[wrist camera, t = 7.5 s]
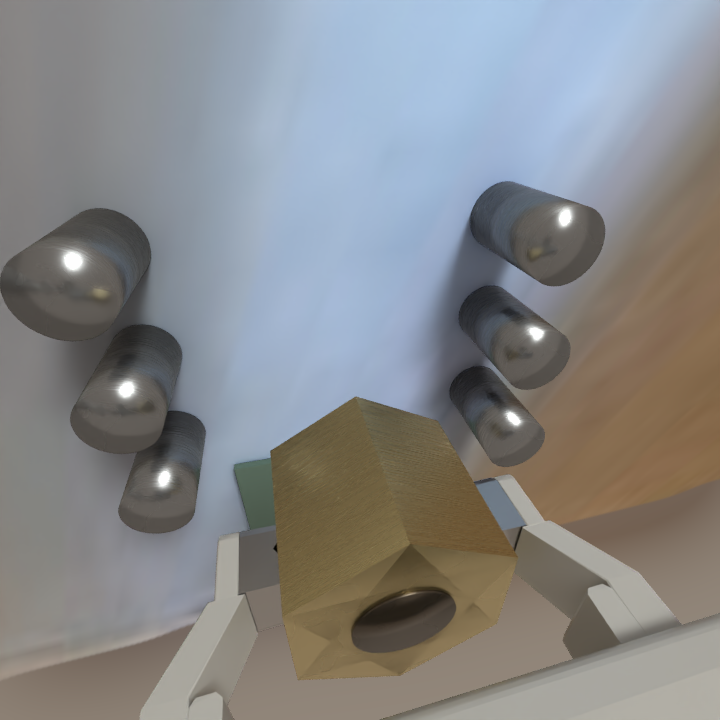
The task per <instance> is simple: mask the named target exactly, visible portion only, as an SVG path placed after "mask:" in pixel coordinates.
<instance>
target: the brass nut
mask: <svg viewBox="0 0 720 720" xmlns="http://www.w3.org/2000/svg"><path fill="white" fill-rule="evenodd" d="M270 453H271V467H272V481H273V495H274V509H275V522H276V536H277V550H278V564H279V578H280V592H281V606H282V618H283V622H284V626H285V630H286V634H287V638H288V642H289V646H290V650H291V654H292V658H293V662H294V666H295V670H296V674H297V678H298V680H311V679H334V678H356V677H379V676H400V675H402V674H404V673H406V672H408V671H410V670H411V669H413V668H415V667H417V666H419V665H421V664H422V663H424V662H426V661H428V660H430V659H432V658H434V657H436V656H437V655H439V654H441V653H443V652H445V651H447V650H449V649H451V648H452V647H454V646H456V645H458V644H460V643H462V642H464V641H465V640H467V639H469V638H471V637H473V636H475V635H477V634H478V633H480V632H482V631H484V630H486V629H488V628H489V627H492V626H493V625H495V624H497V621H498V618H499V615H500V612H501V609H502V606H503V603H504V600H505V597H506V594H507V591H508V588H509V585H510V582H511V579H512V576H513V573H514V570H515V567H516V564H517V561H518V556H517V555H516V553H515V551H514V549H513V548H512V546H511V544H510V543H509V541H508V539H507V538H506V536H505V534H504V533H503V531H502V529H501V527H500V526H499V524H498V522H497V521H496V519H495V517H494V516H493V514H492V512H491V511H490V509H489V507H488V506H487V504H486V502H485V500H484V499H483V497H482V495H481V494H480V492H479V490H478V489H477V487H476V485H475V484H474V482H473V480H472V478H471V477H470V475H469V473H468V472H467V470H466V468H465V467H464V465H463V463H462V462H461V460H460V458H459V456H458V455H457V453H456V451H455V450H454V448H453V446H452V445H451V443H450V441H449V440H448V438H447V436H446V434H445V433H444V431H443V429H442V428H441V426H440V424H439V423H438V421H436V420H433V419H429V418H426V417H423V416H419V415H416V414H413V413H409V412H406V411H403V410H399V409H396V408H393V407H389V406H386V405H383V404H379V403H376V402H373V401H369V400H366V399H363V398H359V397H354V398H353V399H351V400H349V401H348V402H346V403H345V404H343V405H342V406H340V407H339V408H337V409H335V410H334V411H332V412H331V413H329V414H328V415H326V416H324V417H323V418H321V419H320V420H318V421H317V422H315V423H314V424H312V425H310V426H309V427H307V428H306V429H304V430H303V431H301V432H299V433H298V434H296V435H295V436H293V437H292V438H290V439H289V440H287V441H285V442H284V443H282V444H281V445H279V446H278V447H276V448H274V449H273V450H271V451H270Z"/></svg>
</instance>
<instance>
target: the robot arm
mask: <svg viewBox="0 0 720 720" xmlns="http://www.w3.org/2000/svg"><path fill="white" fill-rule="evenodd" d="M474 484H475V485H476V487H477V489H478V490H479V492H480V494H481V495H482V497H483V499H484V500H485V502H486V504H487V506H488V507H489V509H490V511H491V512H492V514H493V516H494V517H495V519H496V521H497V522H498V524H499V526H500V527H501V529H502V531H503V533H504V534H505V536H506V538H507V539H508V541H509V543H510V544H511V546H512V548H513V549H514V551H515V553H516V555H517V556H518V561H517V564H516V567H515V570H514V573H515V574H517V575H518V576H519V577H520V578H521V579H523V580H524V581H525V582H526V583H527V584H529V585H530V586H531V587H532V588H533V589H535V590H536V591H537V592H538V593H540V594H541V595H542V596H543V597H544V598H546V599H547V600H548V601H549V602H550V603H552V604H553V605H554V606H555V607H557V608H558V609H559V610H560V611H561V612H563V613H564V614H565V615H566V616H567V617H569V618H570V619H571V622H570V624H569V626H568V628H567V630H566V632H565V634H564V637H563V642H564V644H565V646H566V647H567V649H568V651H569V653H570V655H571V656H572V658H573V659H572V660H569V661H565V662H562V663H559V664H556V665H553V666H550V667H546V668H543V669H540V670H537V671H533V672H530V673H527V674H524V675H521V676H518V677H514V678H511V679H508V680H505V681H502V682H498V683H495V684H492V685H489V686H486V687H482V688H479V689H476V690H473V691H470V692H466V693H463V694H460V695H457V696H454V697H450V698H447V699H444V700H441V701H438V702H435V703H432V704H428V705H425V706H422V707H419V708H415V709H412V710H409V711H406V712H403V713H400V714H396V715H393V716H390V717H387V718H383V719H380V720H720V613H718V614H715V615H712V616H709V617H706V618H703V619H699V620H696V621H693V622H690V623H687V624H683V625H682V624H681V623H680V622H679V621H678V619H677V618H676V617H675V616H674V615H673V613H672V612H671V611H670V610H669V609H668V607H667V606H666V605H665V604H664V602H663V601H662V600H661V599H660V598H659V596H658V595H657V594H656V593H655V592H654V590H653V589H652V588H651V587H650V585H649V584H648V583H647V582H646V581H645V580H644V578H643V577H642V576H641V575H640V573H639V572H637V571H635V570H634V569H632V568H630V567H629V566H626V565H625V564H623V563H622V562H620V561H618V560H617V559H615V558H613V557H611V556H610V555H608V554H606V553H605V552H603V551H601V550H600V549H598V548H596V547H594V546H593V545H591V544H589V543H588V542H585V541H584V540H582V539H581V538H579V537H577V536H576V535H574V534H572V533H571V532H569V531H567V530H565V529H564V528H562V527H560V526H559V525H557V524H555V523H554V522H552V521H550V520H549V521H545V520H544V519H543V518H542V516H541V515H540V513H539V512H538V511H537V509H536V508H535V506H534V505H533V504H532V502H531V501H530V499H529V498H528V497H527V495H526V494H525V493H524V491H523V490H522V488H521V487H520V486H519V484H518V483H517V481H516V480H515V479H514V477H513V476H511V475H510V474H509V475H503V476H499V477H495V478H487V479H483V480H479V481H474ZM281 625H284V622H283V618H282V606H281V592H280V578H279V564H278V550H277V536H276V525H272V526H267V527H262V528H257V529H252V530H247V531H242V532H236V533H231V534H227V535H222V536H220V537H219V540H218V547H217V563H216V580H215V596H214V601H212V602H209V603H208V604H207V605H206V607H205V608H204V610H203V612H202V613H201V615H200V616H199V618H198V620H197V621H196V623H195V624H194V626H193V628H192V629H191V631H190V632H189V634H188V636H187V637H186V639H185V640H184V642H183V644H182V645H181V647H180V649H179V650H178V652H177V653H176V655H175V657H174V658H173V660H172V661H171V663H170V665H169V666H168V668H167V669H166V671H165V673H164V674H163V676H162V677H161V679H160V681H159V682H158V684H157V686H156V687H155V689H154V691H153V692H152V694H151V695H150V697H149V698H148V700H147V702H146V703H145V705H144V706H143V708H142V710H141V713H140V719H139V720H234V718H233V716H232V714H231V712H230V710H229V708H228V707H227V705H228V703H229V701H230V698H231V696H232V694H233V691H234V689H235V687H236V685H237V682H238V680H239V677H240V675H241V673H242V671H243V668H244V666H245V664H246V661H247V659H248V657H249V654H250V652H251V650H252V648H253V645H254V643H255V641H256V638H257V636H258V633H257V632H260V631H263V630H267V629H270V628H274V627H277V626H281Z"/></svg>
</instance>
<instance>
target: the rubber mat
mask: <svg viewBox="0 0 720 720" xmlns="http://www.w3.org/2000/svg"><path fill="white" fill-rule="evenodd" d="M234 470H235V474H236V478H237V481H238V485H239V489H240V493H241V496H242V500H243V504H244V507H245V511H246V515H247V519H248V522H249V526H250V530H252V529H257V528H262V527H267V526H272V525H276V522H275V509H274V495H273V481H272V467H271V458H270V459H264V460H258V461H252V462H246V463H241V464H235V467H234Z"/></svg>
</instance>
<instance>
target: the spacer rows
mask: <svg viewBox="0 0 720 720" xmlns="http://www.w3.org/2000/svg"><path fill="white" fill-rule="evenodd" d="M470 223H471V231H472V234H473V236H474V238H475V239H476V240H477V241H478V242H479V243H480V244H482V245H483V246H485V247H486V248H488V249H489V250H491V251H492V252H494V253H495V254H497V255H499V256H500V257H502V258H503V259H505V260H506V261H508V262H509V263H511V264H512V265H514V266H516V267H517V268H519V269H520V270H522V271H523V272H525V273H526V274H528V275H529V276H531V277H533V278H534V279H536V280H537V281H539V282H540V283H542V284H544V285H547V286H561V285H565V284H568V283H570V282H572V281H574V280H576V279H577V278H579V277H580V276H582V275H583V274H584V273H585V272H586V271H587V270H588V269H589V268H590V267H591V266H592V265H593V263H594V262H595V260H596V259H597V257H598V255H599V254H600V251H601V249H602V246H603V243H604V239H605V225H604V221H603V219H602V217H601V215H600V214H599V213H598V212H597V211H596V210H595V209H593V208H591V207H588V206H585V205H582V204H579V203H576V202H573V201H570V200H567V199H564V198H561V197H558V196H555V195H552V194H548V193H545V192H542V191H539V190H536V189H533V188H530V187H527V186H524V185H521V184H518V183H515V182H510V181H506V182H500V183H497V184H495V185H493V186H491V187H490V188H488V189H487V190H486V191H485V192H484V193H483V194H482V195H481V196H480V197H479V199H478V200H477V202H476V204H475V205H474V208H473V211H472V214H471V222H470ZM150 259H151V249H150V244H149V242H148V239H147V237H146V235H145V234H144V232H143V231H142V229H141V228H140V227H139V226H138V225H137V224H136V223H135V222H134V221H132V220H131V219H130V218H128V217H127V216H125V215H123V214H121V213H119V212H116V211H113V210H109V209H103V208H95V209H89V210H85V211H83V212H81V213H79V214H78V215H76V216H74V217H73V218H71V219H70V220H68V221H67V222H65V223H64V224H62V225H61V226H59V227H58V228H56V229H55V230H53V231H52V232H50V233H49V234H47V235H46V236H44V237H43V238H41V239H40V240H38V241H37V242H35V243H34V244H32V245H31V246H29V247H28V248H26V249H25V250H23V251H22V252H20V253H19V254H17V255H16V256H14V257H13V258H12V259H10V260H9V261H8V262H7V264H6V265H5V267H4V269H3V271H2V273H1V277H0V289H1V293H2V297H3V299H4V301H5V303H6V305H7V307H8V308H9V310H10V311H11V312H12V313H13V315H14V316H15V317H16V318H17V319H18V320H20V321H21V322H22V323H23V324H24V325H26V326H27V327H29V328H30V329H32V330H34V331H36V332H38V333H40V334H42V335H44V336H47V337H50V338H54V339H58V340H64V341H82V340H88V339H91V338H94V337H97V336H99V335H101V334H102V333H104V332H105V331H106V330H107V329H108V328H109V327H110V326H111V325H112V324H113V322H114V320H115V319H116V317H117V316H118V314H119V312H120V311H121V309H122V308H123V306H124V304H125V303H126V301H127V300H128V298H129V296H130V295H131V293H132V292H133V290H134V288H135V287H136V285H137V284H138V282H139V280H140V279H141V277H142V276H143V274H144V272H145V271H146V269H147V268H148V266H149V263H150ZM459 324H460V326H461V328H462V330H463V331H464V332H465V333H466V334H467V335H468V337H469V338H470V339H471V340H472V341H473V342H474V343H475V344H476V345H477V347H478V348H479V349H480V350H481V351H482V352H483V353H484V354H485V355H486V357H487V358H488V359H489V360H490V361H491V362H492V363H493V364H494V366H495V367H496V368H497V369H498V370H499V371H500V372H501V373H502V374H503V376H504V377H505V378H506V379H507V380H508V381H509V382H510V383H511V384H512V385H513V386H514V387H516V388H519V389H524V390H528V389H535V388H538V387H541V386H543V385H545V384H547V383H548V382H550V381H551V380H553V379H554V378H555V377H556V376H557V375H558V374H559V373H560V372H561V371H562V370H563V368H564V367H565V365H566V363H567V361H568V359H569V356H570V343H569V341H568V339H567V338H566V337H565V336H564V335H563V334H562V333H561V332H559V331H558V330H557V329H555V328H554V327H553V326H551V325H550V324H549V323H548V322H546V321H545V320H544V319H542V318H541V317H540V316H538V315H537V314H536V313H535V312H533V311H532V310H531V309H529V308H528V307H527V306H525V305H524V304H523V303H521V302H520V301H519V300H518V299H516V298H515V297H514V296H512V295H511V294H510V293H508V292H507V291H506V290H505V289H503V288H501V287H498V286H486V287H482V288H480V289H478V290H476V291H475V292H473V293H472V294H471V295H470V296H469V297H468V298H467V299H466V300H465V301H464V303H463V305H462V307H461V309H460V312H459ZM181 361H182V351H181V348H180V345H179V343H178V342H177V341H176V339H175V338H174V337H173V336H172V335H171V334H169V333H168V332H166V331H165V330H163V329H161V328H158V327H155V326H151V325H134V326H130V327H127V328H125V329H123V330H121V331H120V332H119V333H118V334H117V335H116V336H115V337H114V339H113V341H112V342H111V344H110V346H109V347H108V349H107V351H106V353H105V354H104V356H103V358H102V359H101V361H100V363H99V365H98V366H97V368H96V370H95V371H94V373H93V375H92V377H91V378H90V380H89V382H88V384H87V385H86V387H85V389H84V390H83V392H82V394H81V396H80V397H79V399H78V401H77V402H76V404H75V406H74V408H73V409H72V412H71V417H70V421H71V426H72V428H73V430H74V432H75V434H76V435H77V436H78V437H79V438H80V439H81V440H82V441H83V442H85V443H86V444H88V445H89V446H91V447H93V448H95V449H98V450H101V451H104V452H109V453H117V454H126V453H134V452H137V454H136V457H135V460H134V463H133V466H132V469H131V472H130V475H129V478H128V481H127V484H126V487H125V490H124V493H123V496H122V499H121V502H120V505H119V511H118V512H119V516H120V518H121V520H122V521H123V522H124V523H125V524H126V525H127V526H129V527H130V528H132V529H135V530H137V531H141V532H145V533H166V532H171V531H174V530H177V529H179V528H181V527H183V526H185V525H186V524H187V523H188V522H189V521H190V520H191V519H192V517H193V515H194V512H195V505H196V498H197V491H198V484H199V477H200V470H201V464H202V457H203V450H204V443H205V436H206V431H205V427H204V425H203V423H202V422H201V421H200V420H199V419H198V418H196V417H195V416H193V415H191V414H189V413H185V412H181V411H168V408H169V404H170V401H171V397H172V393H173V390H174V386H175V382H176V379H177V375H178V372H179V368H180V364H181ZM450 398H451V400H452V401H453V403H454V405H455V406H456V408H457V409H458V411H459V412H460V414H461V415H462V417H463V418H464V420H465V421H466V423H467V424H468V426H469V428H470V429H471V431H472V432H473V434H474V435H475V437H476V438H477V440H478V441H479V443H480V444H481V446H482V447H483V449H484V451H485V452H486V454H487V455H488V457H489V458H490V460H491V461H492V462H493V463H494V464H496V465H498V466H502V467H509V466H514V465H518V464H520V463H523V462H524V461H526V460H528V459H529V458H531V457H532V456H533V455H534V454H535V453H536V452H537V451H538V450H539V449H540V447H541V446H542V444H543V442H544V438H545V432H544V429H543V428H542V427H541V425H540V424H539V423H538V422H537V421H536V420H535V419H534V417H533V416H532V415H531V414H530V413H529V412H528V410H527V409H526V408H525V407H524V406H523V405H522V404H521V402H520V401H519V400H518V399H517V398H516V397H515V396H514V394H513V393H512V392H511V391H510V390H509V389H508V388H507V386H506V385H505V384H504V383H503V382H502V381H501V380H500V378H499V377H498V376H497V375H496V374H495V373H494V372H493V371H492V370H491V369H490V368H488V367H484V366H476V367H472V368H469V369H467V370H465V371H463V372H462V373H461V374H459V375H458V376H457V377H456V379H455V380H454V381H453V383H452V385H451V388H450ZM167 411H168V412H167Z"/></svg>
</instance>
